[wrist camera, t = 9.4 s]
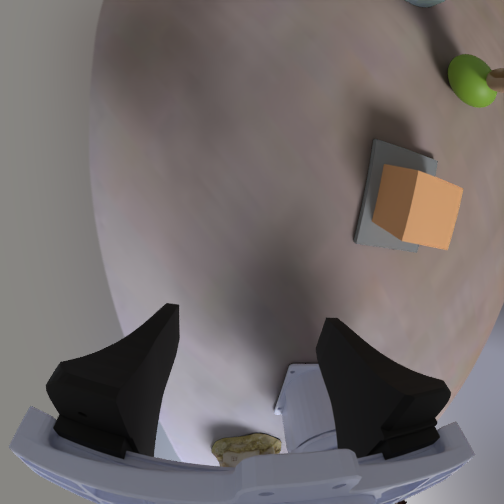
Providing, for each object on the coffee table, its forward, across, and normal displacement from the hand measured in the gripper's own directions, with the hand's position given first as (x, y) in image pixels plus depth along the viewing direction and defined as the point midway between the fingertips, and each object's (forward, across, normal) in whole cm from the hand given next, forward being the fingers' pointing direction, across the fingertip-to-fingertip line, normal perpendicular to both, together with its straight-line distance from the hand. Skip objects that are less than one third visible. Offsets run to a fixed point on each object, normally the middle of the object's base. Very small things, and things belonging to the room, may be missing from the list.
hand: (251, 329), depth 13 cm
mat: (+10, -12, -6) cm, 18 cm away
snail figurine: (+11, -18, -20) cm, 29 cm away
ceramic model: (+11, -4, +35) cm, 37 cm away
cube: (+10, -12, -7) cm, 17 cm away
